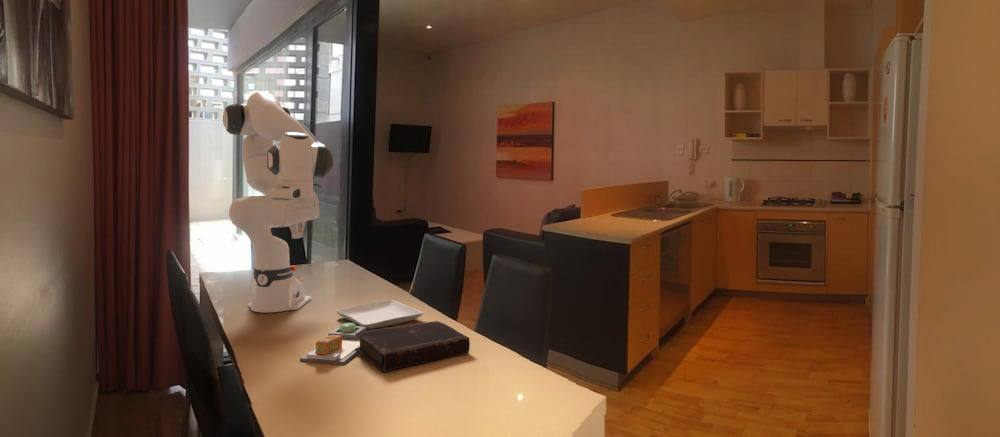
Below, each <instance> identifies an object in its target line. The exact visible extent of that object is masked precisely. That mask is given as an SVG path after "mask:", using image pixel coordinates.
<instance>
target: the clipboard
mask: <svg viewBox="0 0 1000 437" xmlns="http://www.w3.org/2000/svg"><path fill="white" fill-rule="evenodd" d="M356 348H360V340H357V341H356V340H343V339H342V347H340V348H338V349H336V350H334V351H332V352H330V353H328V354H315V351H316V347H314V348H313V349H312V350H309V352H306V354H304V355H302V356H301V357H299V362H305V363H307V362H308V363H319V364H328V365H329V364H331V365H342V366H343V365H345V364H347V363H349V361H351V360H352V359H353V358H354V357H355V356H357V355H358V354H360V353H359V352H357V351H356V350H355V349H356Z"/></svg>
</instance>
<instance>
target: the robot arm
mask: <svg viewBox="0 0 1000 437" xmlns="http://www.w3.org/2000/svg"><path fill="white" fill-rule="evenodd" d="M222 124H223V126H224V128H225V130H226V132H228V134H229V135H230V134H231V135H233V136H241V135H242V136H245V137H244V138H243V140H242V149H241V150H242V161H243V168H244V172H245V177H246V182H247V184H248V185H249V187H250V188H251V189H253V190H254V191H256V192H259V193H261V194H262V195H248V196H244V197H240V198H235V199H234V200H233V202H231V204H230V207H229V210H228V215H229V219H230V221H231V223H232V224H233V225H234V226H235V227H237V229H240V230H241V231H242V232H244V233H245V235H246V236H247V237H248V239H249V241H250V242H251V245H252V248H253V250H252V251H253V258H254V268H253V273H252V276H253V280H254V281H253V282H252V284H251V292H250V302H248V304H247V307H249V308H250V310H251V311H253V312H256V313H278V312H284V311H285V312H286V311H294V310H299V309H300V308H302V307H303V306H305V305H306V304H307V303H309V302H310V301H311V300H312V296H310V295H306V294H305V287H304V284H303V283H302V282H300V280H298V279H297V278H296V277H294V274H293V272H296V271H297V266H296V265H290V247H289V244H288V242H286V241H285V240H284V239H282V238H280V237H278V236H275V235H273V234H272V231H271V230H272V228H287V227H289V229H290V232H291V239H292V240H293V239H295V240H296V239H300V238H303V237H304V236H303V235H304V229H305V226H306V222H308V221H312V220H313V221H314V220H316V219H318V218H319V217H320V203H319V202H320V201H319V197H318V195H317V193H316V191H315V189H314V178H319V179H323V178H324V177H326V176H327V175H329V173H331V171H332V169H333V167H334V157H333V153H332V152H331V150H330V149H329V148H328V147H327V146H326V144H323V143H322V142H320V141H319V139H318V138H316V136H315V135H314V134H313V133H312V131H311V130H309V128H308V126H306V125H305V124H304V123H303V122H301V121H299V120H297V119H296V118H294V117H293V116H292V114H291V113H290V109H289V108H288V107H287V106H285V105H281V102H279V101H278V99H277V98H276V97H275V96H274V95H273V94H271V93H270V92H267V91H263V90H262V91H256V92H254V93H252V94H251V95H250V96H249V98H248V99H247V103H239V102H238V103H232V104H228V105H227V106H226V107H225V108H224V110H223V113H222ZM275 141H276V142H278V143H277V144H274V142H275Z"/></svg>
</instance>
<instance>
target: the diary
mask: <svg viewBox="0 0 1000 437" xmlns="http://www.w3.org/2000/svg"><path fill="white" fill-rule="evenodd" d="M355 334H356V335H357V336H359V337H360V338H359V341H360V348H356V349H355V350H356V351H357V352H359V353H358V354H360V355H361V356H362V357H364V358H365V359H366V360H368V361H369V362H370V363H371V364H372V365H374V366H375V367H376V368H377V369H378V370H380V371H382V372H388V371H392V370H396V369H397V370H398V369H401V368H404V367H408V366H414V365H418V364H420V365H421V364H424V363H430V362H434V361H437V360H441V359H444V358H445V359H446V358H449V357H454V356H455V357H457V356H460V355H461V356H462V355H466V354H469V353H470V349H471V348H470V346H471V345H470V344H471V343H470V342H471V341H470V337H468V336H467V335H465V334H463V333H461V332H459V331H458V330H456V329H454V327H451V326H449V325H447V324H446V323H444V322H441V321H438V320H434V321H429V322H421V323H416V324H410V325H403V326H399V327H388V328H386V327H385V328H384V327H383V328H375V329H369V330H366V331H364V332H358V333H355Z"/></svg>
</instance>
